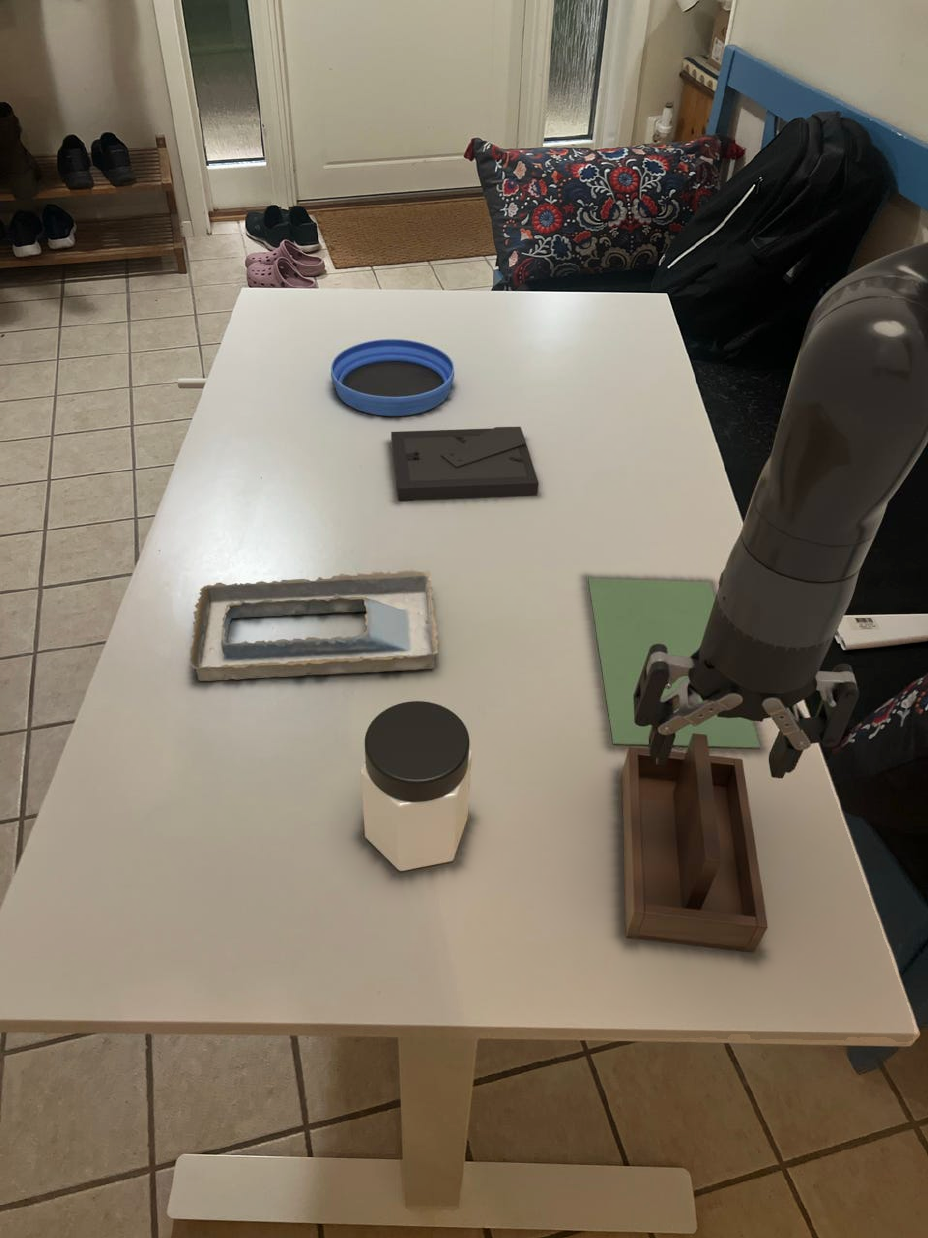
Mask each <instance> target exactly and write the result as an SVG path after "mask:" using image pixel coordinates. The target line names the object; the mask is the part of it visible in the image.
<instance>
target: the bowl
mask: <svg viewBox="0 0 928 1238" xmlns="http://www.w3.org/2000/svg"><path fill="white" fill-rule="evenodd" d="M330 376H331V381H332V383H333V386H334V387H335V391H336V393H337V395H338V397H339V398H340V399H341V400H342V402H344V404H346V405H348V406H349V407H351V408H353V409H355V410H357V411H360V412H363V413H366V414H371V415H376V416H384V417H385V416H386V417H402V416H411V415H416V414H417V415H418V414H422V413H424V412H427V411H429V410H431V409H434V408H436V407H438V406H439V405H440V404H442V403H443V402H444V401H445V400H446V399H447V398H448V396H449V394H450V391H451V387H452V384H453V383H454V378H455V365H454V361H453V360H452V359H451V358H450V356H449V355H448V354H446V353H445V352H444V351H442V350H441V349H439V348H436V347H435V346H432V345H429V344H428V343H424V342H421V341H420V342H419V341H415V340H409V339H399V338H398V339H397V338H387V339H386V338H385V339H384V338H383V339H376V340H369V341H365V342H360V343H358V344H355V345H352V346H349V347H348V348H346V349H344V350H343V351H341V352H340V353H338V354H337V355H336V356H335V357H334V358H333V360H332V362H331V364H330Z"/></svg>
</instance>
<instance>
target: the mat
mask: <svg viewBox="0 0 928 1238" xmlns="http://www.w3.org/2000/svg"><path fill="white" fill-rule="evenodd" d="M587 582H588V589H589V594H590V601H591V607H592V612H593V613H592V615H593V621H594V628H595V635H596V640H597V647H598V655H599V661H600V667H601V674H602V680H603V687H604V693H605V694H604V695H605V700H606V707H607V713H608V714H607V715H608V721H609V728H610V734H611V740H612V745H614V746H615V745H616V746H645V747H647V746H648V747H649V739H648V738H649V734H650V731H651V727H652V725H648V726H644V727H642V726H638V725H636V724H635V722H634V699H633V695H634V692H635V689H636V686H637V683H638V681H639V678H640V675H641V672H642V669H643V666H644V664H645V661H646V658H647V655H648V652H649V649H650V647H651V646H652V645H654V644H663V645H665V646H666V647H667V651H668V654H670V655H677V656H683V657H690V656H691V655H692V654H693V653H695V652H696V651H697V650H698V649H699V647H700V646H701V643H702V639H703V636H704V632H705V629H706V626H707V623H708V620H709V617H710V614H711V610H712V607H713V604H714V601H715V598H716V596H715V593H714V590H713V587H712V584H711V582H710V581H687V580H684V581H683V580H656V579H654V580H653V579H652V580H651V579H623V578H622V579H621V578H620V579H619V578H591V577H590V578H589V577H588V578H587ZM686 678H688V676H682V677H680V678H678V679H677V680H676V682H675V683H673V684H672V688H670V689H666V688H665V689H664V691H663V694H662V696H661V699H662V698H664V697H666V696H667V695H669V694H671V693H672V692H674V691H675V690H676V689H677V688H678V685H679V684H680V682H682V681H683V680H685V679H686ZM661 699H660V700H661ZM698 701H699V703H700V702H702V701H703V700H702V699H701V697H700V696H699V695H698ZM678 710H679V709H677V710H675V711H674V713H675V712H676V711H678ZM693 733H695V734H705V735H707V740H708V748H720V749H721V748H722V749H755V750H756V749H758V750H759V749H761V746H760V742H759V738H758V736H757V732H756V729H755V725H754V721H751V720H748V719H744V718H740V717H739V718H723V717H717V714H716V715H715V716H713V717H711V718H709V719H708V720H706V721H704V722H702V723H701V724H699V725H697V726H693V725H692V724H689V725H687V726H685V727H683V728H682V729H680V730H678V731H676V732H675V734H676V737H675V740H674V743H673V746H672V747H683V748H684V747H687V748H688V746H689V743H690V740H691V737H692V734H693Z"/></svg>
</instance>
